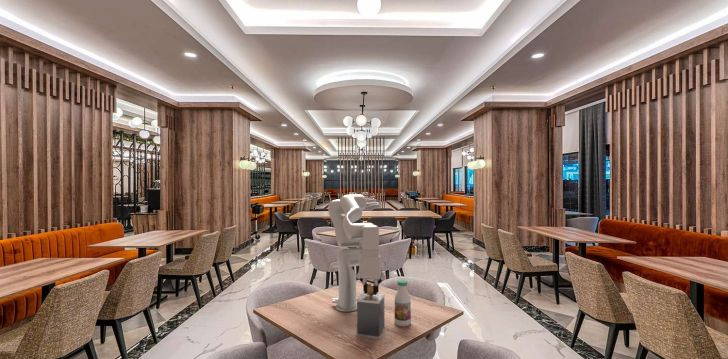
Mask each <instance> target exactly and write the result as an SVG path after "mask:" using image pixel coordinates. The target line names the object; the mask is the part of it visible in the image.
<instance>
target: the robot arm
mask: <svg viewBox="0 0 728 359" xmlns="http://www.w3.org/2000/svg"><path fill="white" fill-rule="evenodd" d="M366 207H367V199H366V197H365V196H364V195H363V194H344V195H342V197H340V198H338V199H333V200H331V201H330V202H328V215H329V217H330V220H331V222H332V225H333V228H334V234H335V240H336V244H337V245H338V247H339V248H343V249H340V250H338V251H337V254H336V261H337V268H338V270H337V271H338V298H336V297H332V299H331V302H332V304H335V309H336V310H337V311H339V312H345V313H348V312H349V313H351V312H355V311H357V301H356V299H357V279H358V280H359V282H360V283H361V284H362V287H363V288H362V290H363V291H362V292H364V294H366V293H367V288H366V285H367V284H368V280H374V284H375V286H374V295H376V294H377V293H380V291H379V290H380V288H379V285H380V284H381V283H383V282H384V281H386V280H387V277H386V275H385V274H384V272H383V264H382V262H383V261H382V257H381V255H380V235H379V234H380V228H379V226H378V225H376V224H374V223H372V222H357V221H358V220H360V219H361V218H362V216H363V211H364V210H366ZM343 215H344V216H343ZM355 222H356V223H355ZM353 267H358V272H357V273H356V271H355V270H354V269H353Z"/></svg>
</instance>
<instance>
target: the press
mask: <svg viewBox="0 0 728 359" xmlns="http://www.w3.org/2000/svg"><path fill="white" fill-rule="evenodd" d="M385 296H386V293H381V292H378V293H377V294H376V295H372V297H370V295H367V293H366V294H364V291H362V292H361V294H359V296H358V297H356V303H357V310H356V337H361V338H367V339H373V340H374V339H375V340H380V339H381V337H382V336H383V334H384V332H385V330H386V326H385V315H386V314H385Z"/></svg>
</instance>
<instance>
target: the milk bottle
mask: <svg viewBox="0 0 728 359" xmlns="http://www.w3.org/2000/svg"><path fill="white" fill-rule="evenodd" d="M396 290H397V291H396V293H395V295H394V324H395V325H396V326H398V327H409V326H410V325H411V322H412V309H411V308H412V307H411V302H412V301H411V296H410V293H409V291H408V281H407V280H405V279H404V280H403V279H399V280H398V281H397V289H396Z"/></svg>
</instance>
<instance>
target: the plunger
mask: <svg viewBox="0 0 728 359" xmlns="http://www.w3.org/2000/svg"><path fill="white" fill-rule="evenodd" d="M374 286H375V283H367V285H366V288H367V295H370V297H372V295H374Z"/></svg>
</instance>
